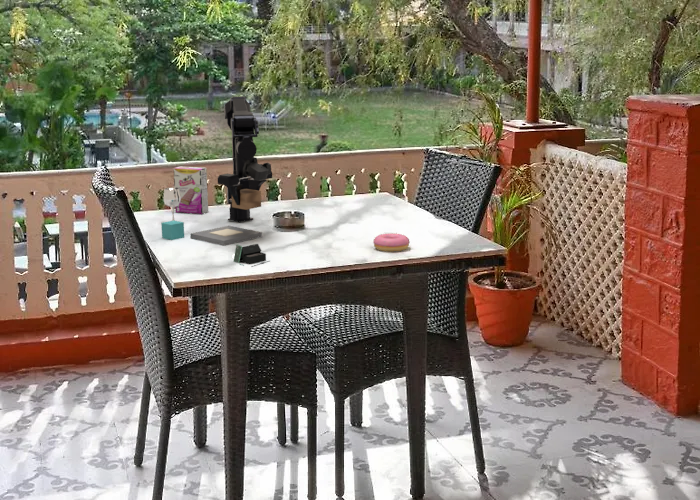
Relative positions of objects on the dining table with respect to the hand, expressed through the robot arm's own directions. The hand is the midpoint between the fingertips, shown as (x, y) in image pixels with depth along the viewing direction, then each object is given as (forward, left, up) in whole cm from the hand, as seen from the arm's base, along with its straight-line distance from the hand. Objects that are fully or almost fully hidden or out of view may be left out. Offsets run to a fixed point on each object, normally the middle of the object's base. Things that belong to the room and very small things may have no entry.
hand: (246, 203), depth 302 cm
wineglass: (+2, -36, -11) cm, 37 cm away
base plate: (+5, -5, -11) cm, 13 cm away
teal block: (+16, -18, -11) cm, 26 cm away
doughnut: (-17, +45, -11) cm, 50 cm away
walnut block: (0, 0, -1) cm, 1 cm away
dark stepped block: (+20, +24, -12) cm, 34 cm away
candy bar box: (-14, -46, -11) cm, 49 cm away
